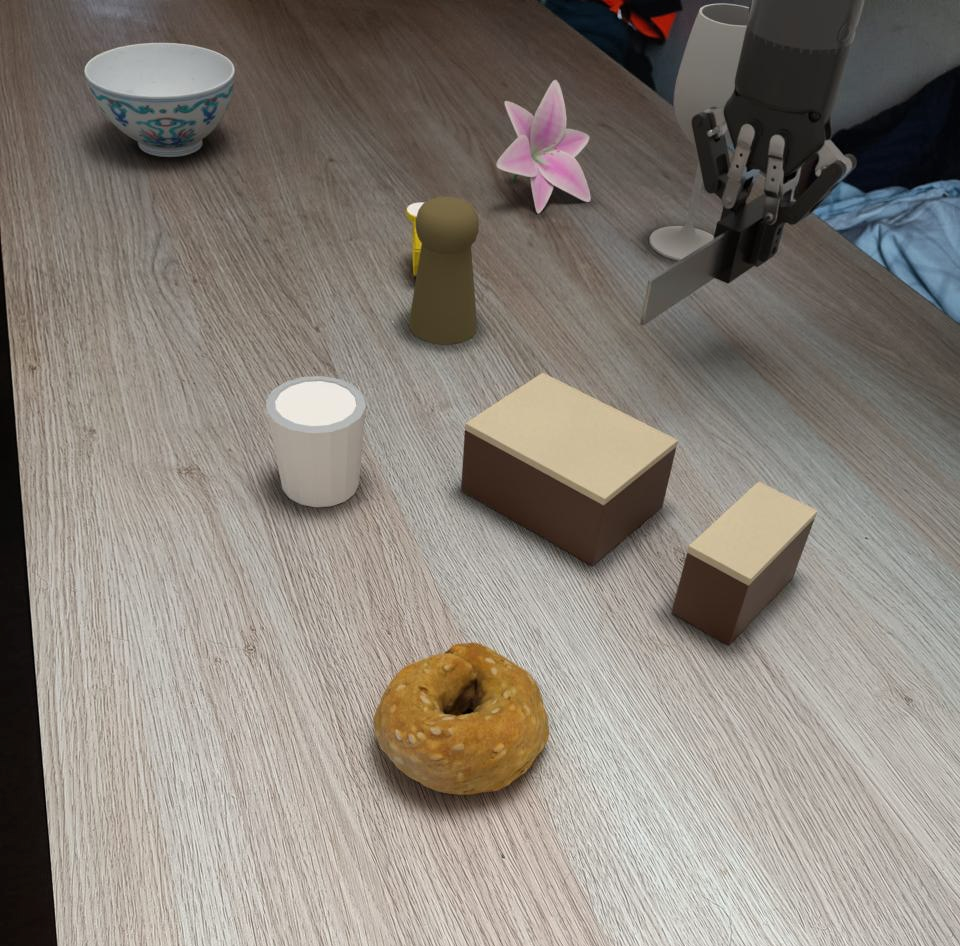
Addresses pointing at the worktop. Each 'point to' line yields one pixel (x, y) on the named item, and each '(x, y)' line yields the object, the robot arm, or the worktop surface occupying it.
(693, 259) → the knife
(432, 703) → the bagel
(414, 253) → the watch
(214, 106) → the chinaware
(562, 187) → the lily
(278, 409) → the cup of milk
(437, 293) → the chess pawn piece
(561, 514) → the cake loaf
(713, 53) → the wineglass
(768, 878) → the worktop surface
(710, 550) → the cake slice
